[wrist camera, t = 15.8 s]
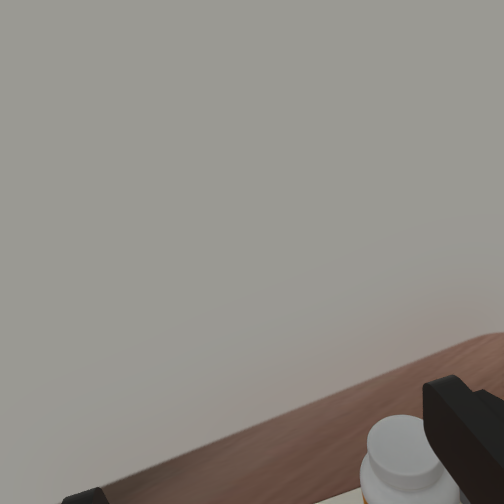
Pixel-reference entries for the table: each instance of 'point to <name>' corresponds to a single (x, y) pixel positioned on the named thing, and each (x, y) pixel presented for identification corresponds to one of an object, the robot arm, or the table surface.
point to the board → (353, 499)
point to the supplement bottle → (404, 466)
